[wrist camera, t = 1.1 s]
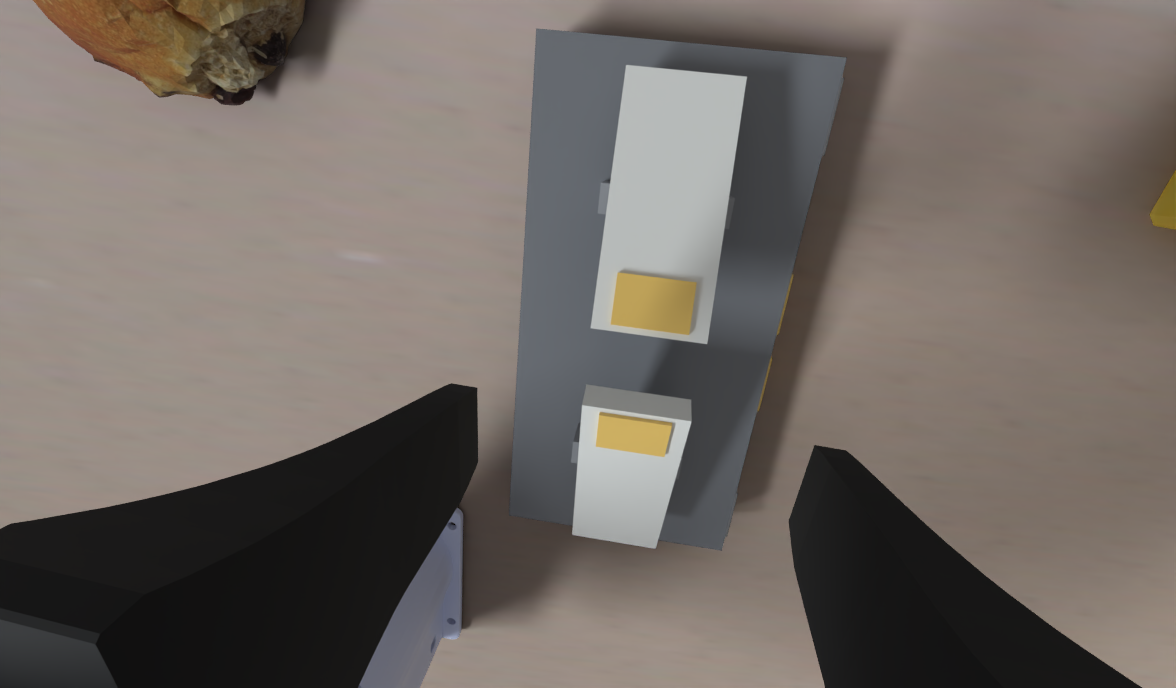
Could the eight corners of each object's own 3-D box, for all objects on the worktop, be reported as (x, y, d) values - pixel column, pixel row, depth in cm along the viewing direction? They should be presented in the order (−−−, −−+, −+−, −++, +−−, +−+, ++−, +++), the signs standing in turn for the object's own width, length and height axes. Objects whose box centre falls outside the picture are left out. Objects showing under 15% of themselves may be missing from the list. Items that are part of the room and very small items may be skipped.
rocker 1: (702, 342, 16) (708, 344, 15) (592, 327, 17) (589, 328, 16) (739, 91, 16) (748, 74, 15) (626, 80, 16) (625, 62, 15)
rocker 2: (656, 527, 22) (655, 552, 21) (575, 514, 22) (571, 537, 22) (691, 399, 17) (691, 425, 16) (586, 384, 17) (581, 408, 17)
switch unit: (719, 515, 25) (730, 576, 22) (521, 483, 26) (499, 537, 23) (827, 70, 18) (872, 49, 15) (550, 43, 19) (525, 17, 15)
